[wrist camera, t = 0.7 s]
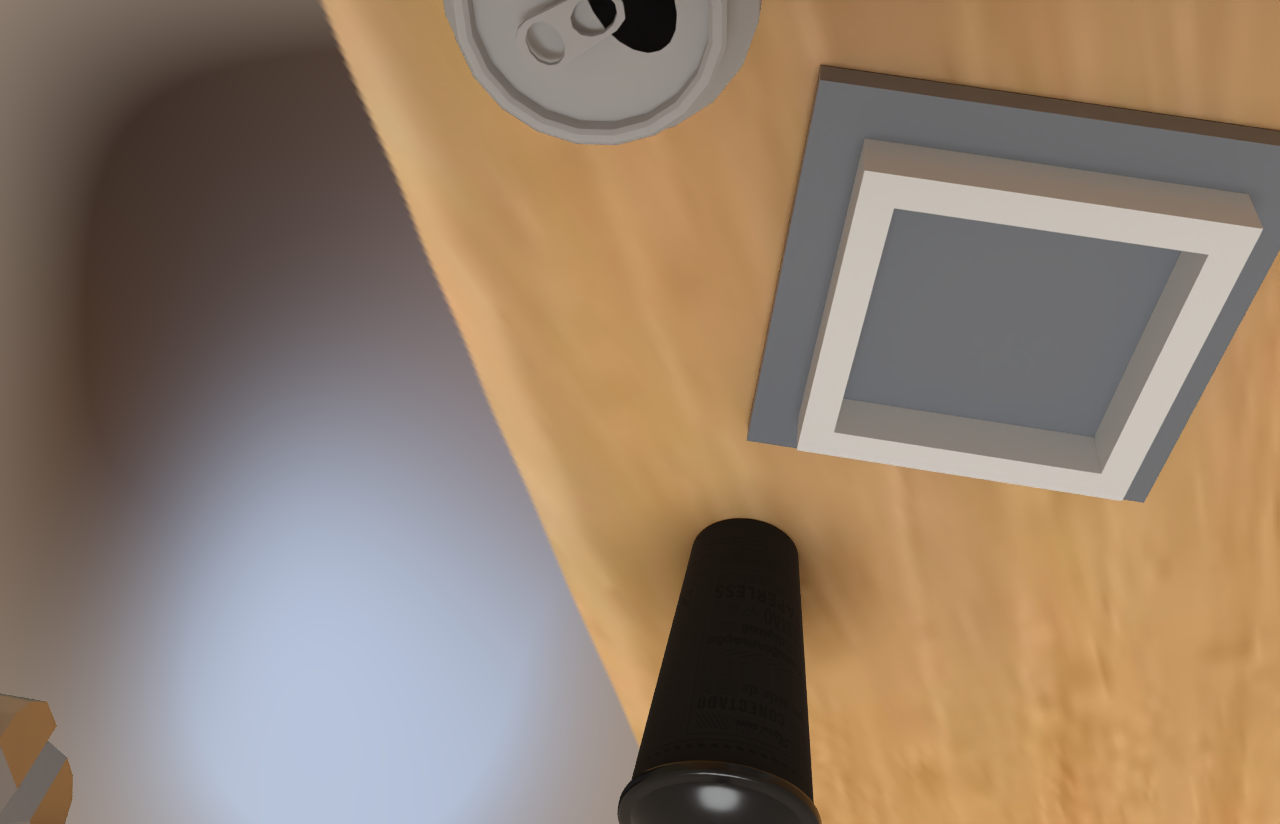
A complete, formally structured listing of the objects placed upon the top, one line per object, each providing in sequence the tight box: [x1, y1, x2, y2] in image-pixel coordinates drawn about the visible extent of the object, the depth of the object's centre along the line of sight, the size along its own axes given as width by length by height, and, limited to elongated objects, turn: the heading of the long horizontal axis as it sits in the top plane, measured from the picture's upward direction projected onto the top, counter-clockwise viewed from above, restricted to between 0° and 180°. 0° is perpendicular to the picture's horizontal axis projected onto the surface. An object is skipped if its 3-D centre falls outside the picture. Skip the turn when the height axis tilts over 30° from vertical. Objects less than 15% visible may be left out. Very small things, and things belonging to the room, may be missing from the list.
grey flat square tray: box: [747, 65, 1280, 503], centre depth 44 cm, size 16×16×3 cm
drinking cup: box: [618, 519, 822, 824], centre depth 49 cm, size 8×8×20 cm
